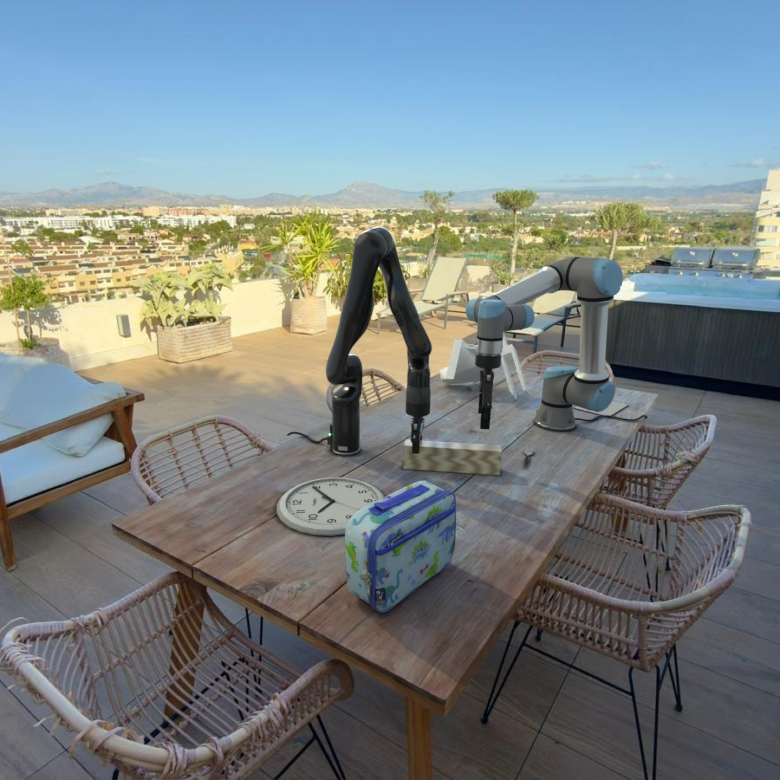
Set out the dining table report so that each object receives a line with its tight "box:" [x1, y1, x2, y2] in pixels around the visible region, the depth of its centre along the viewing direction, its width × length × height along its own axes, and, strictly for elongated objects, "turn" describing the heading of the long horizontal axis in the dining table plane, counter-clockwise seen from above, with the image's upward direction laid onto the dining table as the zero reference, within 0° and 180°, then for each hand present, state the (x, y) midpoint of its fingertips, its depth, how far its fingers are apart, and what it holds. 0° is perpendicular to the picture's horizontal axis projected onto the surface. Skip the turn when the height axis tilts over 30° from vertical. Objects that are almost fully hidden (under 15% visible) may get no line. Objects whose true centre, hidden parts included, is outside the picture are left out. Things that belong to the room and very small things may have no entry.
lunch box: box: [344, 480, 457, 614], centre depth 109 cm, size 26×11×21 cm, turn 135°
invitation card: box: [573, 400, 629, 416], centre depth 226 cm, size 21×1×15 cm
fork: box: [523, 444, 534, 468], centre depth 173 cm, size 3×16×2 cm, turn 160°
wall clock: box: [276, 476, 386, 537], centre depth 142 cm, size 30×2×30 cm
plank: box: [402, 439, 503, 476], centre depth 165 cm, size 30×5×8 cm, turn 83°
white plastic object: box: [438, 332, 531, 400], centre depth 245 cm, size 37×45×31 cm
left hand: (417, 447), depth 164 cm, fingers open, 8 cm apart
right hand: (483, 420), depth 160 cm, fingers open, 13 cm apart
